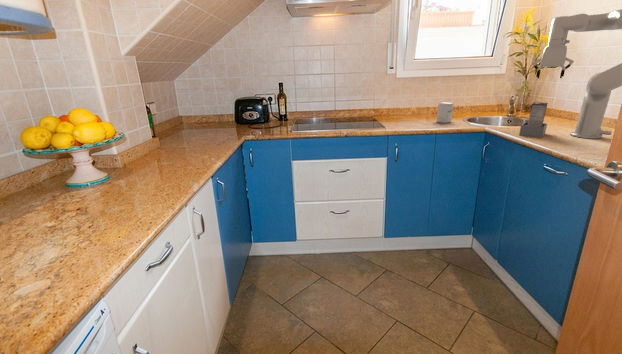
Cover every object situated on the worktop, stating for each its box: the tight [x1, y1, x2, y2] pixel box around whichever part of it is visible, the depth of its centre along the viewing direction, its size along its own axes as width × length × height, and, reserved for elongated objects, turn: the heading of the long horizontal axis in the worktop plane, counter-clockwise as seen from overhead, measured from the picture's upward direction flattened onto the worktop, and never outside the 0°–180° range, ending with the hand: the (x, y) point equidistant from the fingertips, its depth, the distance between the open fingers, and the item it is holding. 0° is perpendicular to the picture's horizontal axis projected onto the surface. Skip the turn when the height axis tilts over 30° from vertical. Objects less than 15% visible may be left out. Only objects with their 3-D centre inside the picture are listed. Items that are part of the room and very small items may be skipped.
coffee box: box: [527, 101, 548, 127], centre depth 165 cm, size 9×6×16 cm
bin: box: [518, 121, 548, 138], centre depth 168 cm, size 10×13×6 cm
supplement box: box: [435, 101, 455, 124], centre depth 209 cm, size 7×7×13 cm
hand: (549, 78), depth 165 cm, fingers open, 9 cm apart
